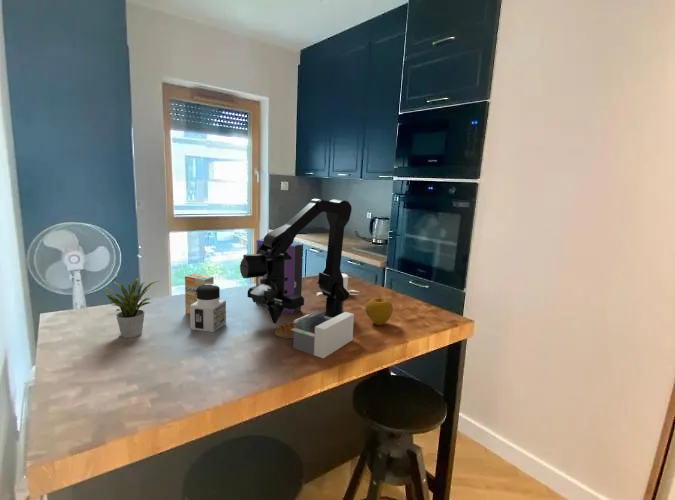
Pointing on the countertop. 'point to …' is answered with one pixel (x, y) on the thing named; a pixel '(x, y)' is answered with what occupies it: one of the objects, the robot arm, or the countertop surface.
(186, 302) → the supplement box
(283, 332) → the pastry
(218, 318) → the container
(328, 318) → the white grey open box
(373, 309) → the apple
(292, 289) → the cereal box
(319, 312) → the gauge pad
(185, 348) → the countertop surface
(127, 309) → the house plant
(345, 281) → the white wide pronged piece
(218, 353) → the countertop surface
